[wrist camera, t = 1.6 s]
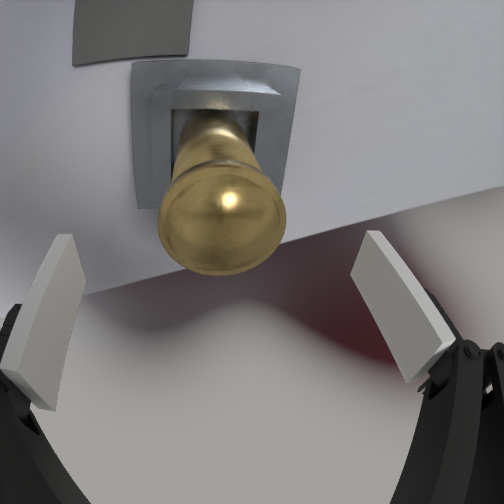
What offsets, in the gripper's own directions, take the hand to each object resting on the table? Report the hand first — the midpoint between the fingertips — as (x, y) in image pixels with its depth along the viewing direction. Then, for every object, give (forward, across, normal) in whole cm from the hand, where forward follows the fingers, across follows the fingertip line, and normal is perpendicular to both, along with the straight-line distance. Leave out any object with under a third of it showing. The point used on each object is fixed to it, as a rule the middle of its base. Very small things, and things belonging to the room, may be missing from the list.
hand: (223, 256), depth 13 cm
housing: (+19, 0, 0) cm, 19 cm away
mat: (+18, -8, +14) cm, 24 cm away
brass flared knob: (+16, 0, 0) cm, 16 cm away
